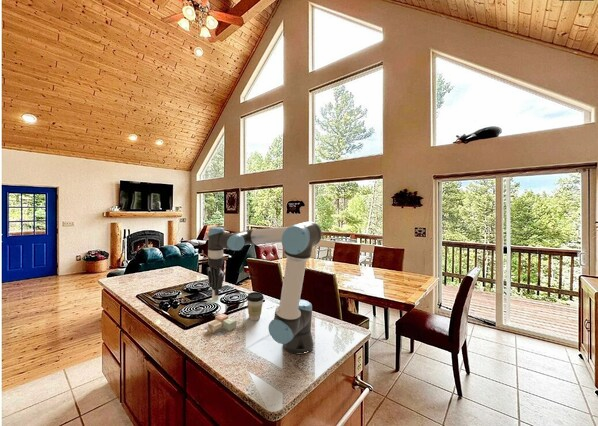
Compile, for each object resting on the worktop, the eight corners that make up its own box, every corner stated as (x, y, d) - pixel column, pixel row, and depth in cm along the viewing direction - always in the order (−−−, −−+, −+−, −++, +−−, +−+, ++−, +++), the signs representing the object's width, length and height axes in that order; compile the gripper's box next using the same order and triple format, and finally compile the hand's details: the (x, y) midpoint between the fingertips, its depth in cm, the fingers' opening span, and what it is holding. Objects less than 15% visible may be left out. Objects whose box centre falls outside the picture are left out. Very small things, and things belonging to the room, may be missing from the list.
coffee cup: (259, 324, 162) (260, 299, 160) (243, 322, 164) (244, 297, 162) (265, 316, 172) (266, 292, 170) (249, 314, 173) (250, 290, 172)
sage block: (236, 327, 156) (236, 320, 156) (229, 330, 152) (229, 323, 152) (230, 324, 159) (230, 316, 159) (223, 327, 155) (223, 320, 155)
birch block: (221, 330, 153) (221, 322, 152) (213, 333, 149) (213, 326, 148) (216, 326, 156) (216, 319, 155) (208, 330, 152) (208, 323, 151)
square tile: (236, 329, 156) (236, 327, 156) (218, 338, 147) (218, 336, 147) (222, 321, 164) (222, 319, 164) (204, 329, 154) (204, 327, 154)
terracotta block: (228, 322, 161) (228, 315, 160) (220, 326, 157) (220, 319, 156) (222, 319, 164) (222, 312, 163) (215, 323, 160) (215, 315, 159)
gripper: (229, 258, 146) (228, 302, 149) (214, 253, 154) (213, 294, 157) (217, 261, 140) (216, 306, 143) (202, 255, 148) (201, 298, 151)
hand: (215, 300), depth 150 cm, fingers closed
